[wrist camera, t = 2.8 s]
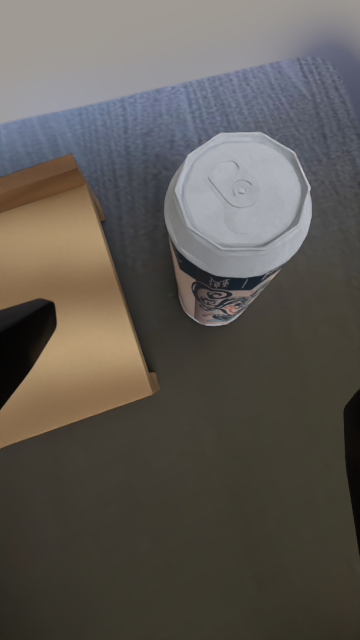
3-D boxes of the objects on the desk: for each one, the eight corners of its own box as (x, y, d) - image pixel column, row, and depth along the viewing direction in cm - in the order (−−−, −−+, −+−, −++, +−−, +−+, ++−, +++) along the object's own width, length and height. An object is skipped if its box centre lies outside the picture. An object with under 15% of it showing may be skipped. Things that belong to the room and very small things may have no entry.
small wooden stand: (160, 389, 20) (149, 396, 14) (16, 439, 19) (-52, 467, 14) (101, 206, 22) (71, 152, 17) (-28, 249, 22) (-101, 210, 16)
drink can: (205, 341, 20) (226, 300, 8) (165, 286, 21) (129, 175, 9) (262, 300, 20) (360, 203, 8) (220, 247, 21) (256, 90, 9)
